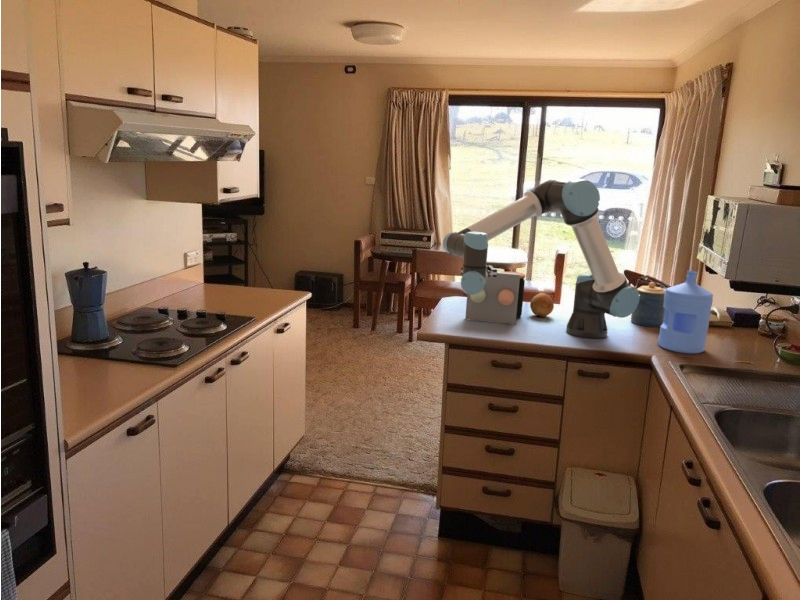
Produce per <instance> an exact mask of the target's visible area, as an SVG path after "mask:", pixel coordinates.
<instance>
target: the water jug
mask: <svg viewBox="0 0 800 600" xmlns="http://www.w3.org/2000/svg"><path fill="white" fill-rule="evenodd" d="M686 273H687V275H685V276H686V280H685V281H684V282H683V283H680V284H676V285H673V286H670V287H669V286H668V287H667V288H666V289H665V291H666V292H665V295H664V305H663V307H664V308H665V315H664V322H663V324H662V325H661V326H660V328H659V334H658V338H657V344H658V346H659V347H661V348H662V349H664V350H668V351H671V352H674V353H682V354H700V353H701V354H702V352H704V351H705V350H706V340H707V335H708V330H709V327H710V326H709V325H710V315H711V309H712V305H713V297H714V295H713V293H712V292H711V291H709V290H708V289H705V288H703V286H701V285H698V284H697V274H698V272H697V271H695V270H687V271H686Z"/></svg>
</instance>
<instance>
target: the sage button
mask: <svg viewBox="0 0 800 600" xmlns="http://www.w3.org/2000/svg"><path fill="white" fill-rule="evenodd" d="M485 296H486V293H485V290H484V289H483V290H482V291H481V292H479V293H478V294H474V295H471V294H470V298H471V300H472V301H473V302H476V303H480V302H482V301H483V300H484V299H485Z"/></svg>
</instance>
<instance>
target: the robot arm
mask: <svg viewBox="0 0 800 600" xmlns="http://www.w3.org/2000/svg"><path fill="white" fill-rule="evenodd" d="M600 201H601V195H600V191H599V189H598V187H597V186H596V184H595V183H594V182H592V181H590V180H588V179H584V178H578V177H577V178H567V177H555V178H551V179H548V180H546V181H544V182H542V183H540V184H538V185H536V186H535V187H533V188H530V189H529V190H527V191H525V192H524V194H523V196H522V197H520V198H518V199H516V200H515V201H513V202H511V203H509V204H508V205H506V206H504V207H502V208H500V209H498V210H497V211H494V212H493V213H491V214H490V215H488V216H486V217H484V218H482V219H480V220H478V221H476V222H475V223H473V224H471V225H469V226H467V227H466V228H464V229H462V230H460V231H458V232H455V231H453V232H450V233H447V234H446V235H445V236H444V238H443V240H442V246H443V247H442V248H443V249H444V251H445V252H446V253H448V254H450V255H451V256H454V257H458V258H461V259H463V260H462V267H460V275H461V276H462V277H461V278H460V286H461V288H462V290H463V292H465V293H466V294H467V293H468V294H471V295H474V294H478V293H479V292H481V291H482V290H483V289H484V287H485V284H486V281H487V279H488V277H490V276H493V277H497V272H498V269H496V268H494V267H493V265H491V264H487V261H488V259H487V258H488V250H489V241H490V240H493V239H495V238H496V237H497V236H499V235H501V234H503V233H505V232H507V231H509V230H510V229H512V228H515V227H516V226H518V225H520V224H521V223H523V222H525V221H527V220H528V219H530V218H532V217H541V216H542V215H544V214H547V213H551V212H553V213H554V212H555V213H560V215H561V217H562V220H563V221H564V224H565V225H567V226H569V227H571V228H572V231H573V233H574V236H575V239H576V240H577V242H578V245H579V247H580V249H581V251H582V255H583V256H584V259H585V261H586V263H587V266H588V268H589V271H590V273H581V274H579V275H578V276H577V277H576V281H575V284H574V285H575V287H574V288H575V290H574V297H573V308H572V309H573V310H572V312H571V315H570V318H569V319H568V321H567V324H566V328H565V332H567V333H568V334H570V335H573V336H575V337H581V338H588V339H602V338H606V337H608V326H607V320H606V316H605V314H607V315H610V316H612V317H617V318H621V319H623V318H628V317H629V316H631V315H632V313H633V312H634V311H635V309H636V308H637V305H638V303H639V293H638V290H637V288H636V287H634V286H632V285H629V283H628V280H627V278H626V275H625V274H624V273H622V272H619V270H618V266H617V264H616V262H615V259H614V257H613V255H612V252H611V250H610V248H609V245H608V242H607V240H606V238H605V235H604V233H603V229H602V227H601V225H600V222H599V219H598V218H597V215H598V213H599V206H600Z"/></svg>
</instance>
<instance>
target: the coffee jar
mask: <svg viewBox="0 0 800 600" xmlns="http://www.w3.org/2000/svg"><path fill="white" fill-rule="evenodd" d="M504 272H505V273H517V274H520V281H519V292H518V303H517V314H516V319H519V318H520V317H521V316H522V313H523V303H524V296H525V295H524V292H525V285H526V282H525V281H526V280H525V277H526V274H525V273H522V272H519V271H517V272H516V271H504Z"/></svg>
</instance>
